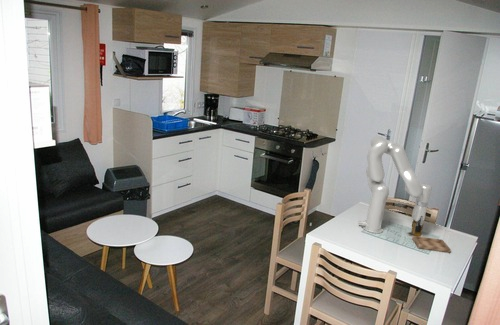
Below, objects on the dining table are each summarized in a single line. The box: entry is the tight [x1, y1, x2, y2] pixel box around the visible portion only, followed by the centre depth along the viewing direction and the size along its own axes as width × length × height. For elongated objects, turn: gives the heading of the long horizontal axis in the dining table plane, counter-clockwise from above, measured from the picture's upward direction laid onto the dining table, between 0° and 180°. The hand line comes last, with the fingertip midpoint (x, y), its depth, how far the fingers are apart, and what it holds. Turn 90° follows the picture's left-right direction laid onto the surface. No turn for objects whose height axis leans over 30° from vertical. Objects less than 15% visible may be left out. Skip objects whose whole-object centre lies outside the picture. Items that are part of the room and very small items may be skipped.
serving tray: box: [411, 236, 451, 254], centre depth 238 cm, size 18×13×2 cm
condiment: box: [406, 220, 424, 237], centre depth 251 cm, size 7×8×12 cm
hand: (415, 229), depth 252 cm, fingers closed on condiment, 6 cm apart
